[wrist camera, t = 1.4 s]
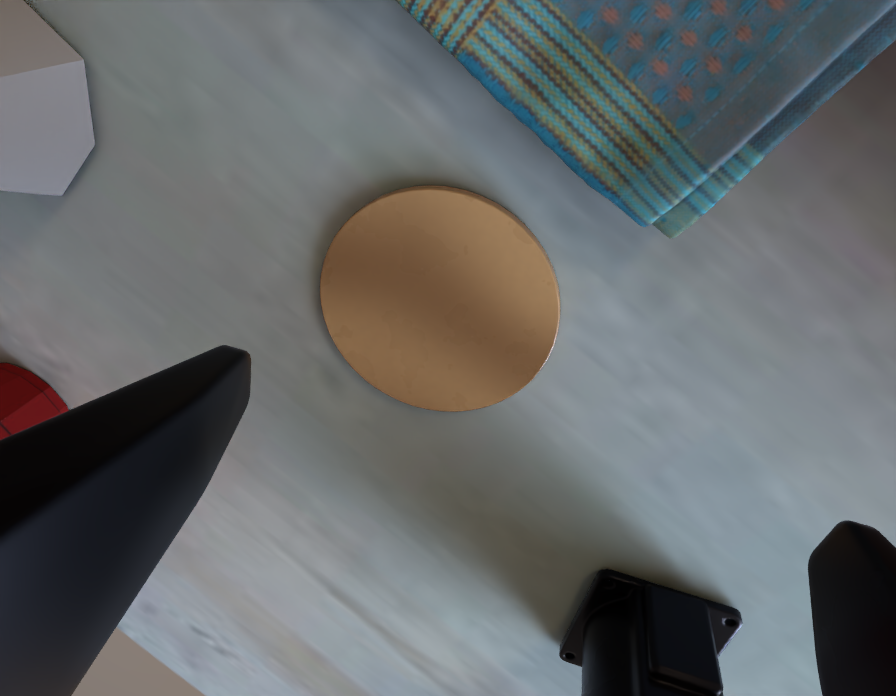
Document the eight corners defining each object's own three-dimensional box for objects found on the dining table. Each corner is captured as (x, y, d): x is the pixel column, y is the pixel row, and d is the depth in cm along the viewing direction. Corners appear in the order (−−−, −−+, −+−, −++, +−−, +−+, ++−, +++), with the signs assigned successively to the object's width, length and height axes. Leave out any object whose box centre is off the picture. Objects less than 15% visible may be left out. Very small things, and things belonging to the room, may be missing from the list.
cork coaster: (522, 431, 26) (521, 439, 25) (313, 368, 26) (308, 374, 26) (595, 225, 21) (595, 229, 21) (339, 154, 22) (333, 158, 21)
